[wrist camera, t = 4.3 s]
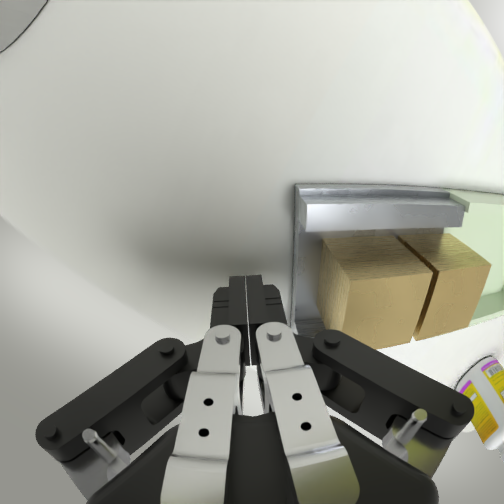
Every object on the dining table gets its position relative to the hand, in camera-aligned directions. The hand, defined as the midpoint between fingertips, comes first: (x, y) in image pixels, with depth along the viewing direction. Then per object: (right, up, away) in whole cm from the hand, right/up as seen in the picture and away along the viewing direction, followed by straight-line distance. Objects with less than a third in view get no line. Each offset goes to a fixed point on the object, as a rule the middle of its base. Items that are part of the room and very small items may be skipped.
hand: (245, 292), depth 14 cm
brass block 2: (+10, +1, +1) cm, 10 cm away
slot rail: (+7, +1, +2) cm, 8 cm away
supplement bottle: (+27, -13, +10) cm, 32 cm away
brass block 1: (+6, +1, +1) cm, 6 cm away
